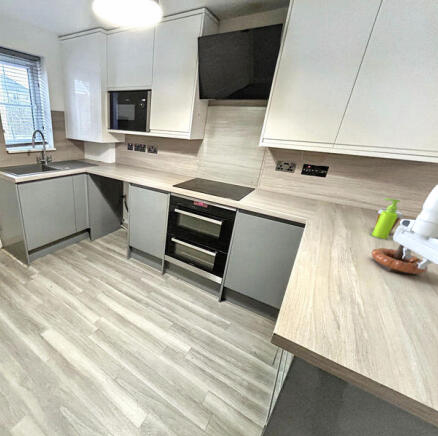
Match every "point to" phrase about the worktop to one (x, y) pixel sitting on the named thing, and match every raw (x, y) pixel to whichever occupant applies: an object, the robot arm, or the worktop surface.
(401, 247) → the stand
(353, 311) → the worktop surface
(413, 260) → the ring
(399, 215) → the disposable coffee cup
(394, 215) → the soap dispenser
